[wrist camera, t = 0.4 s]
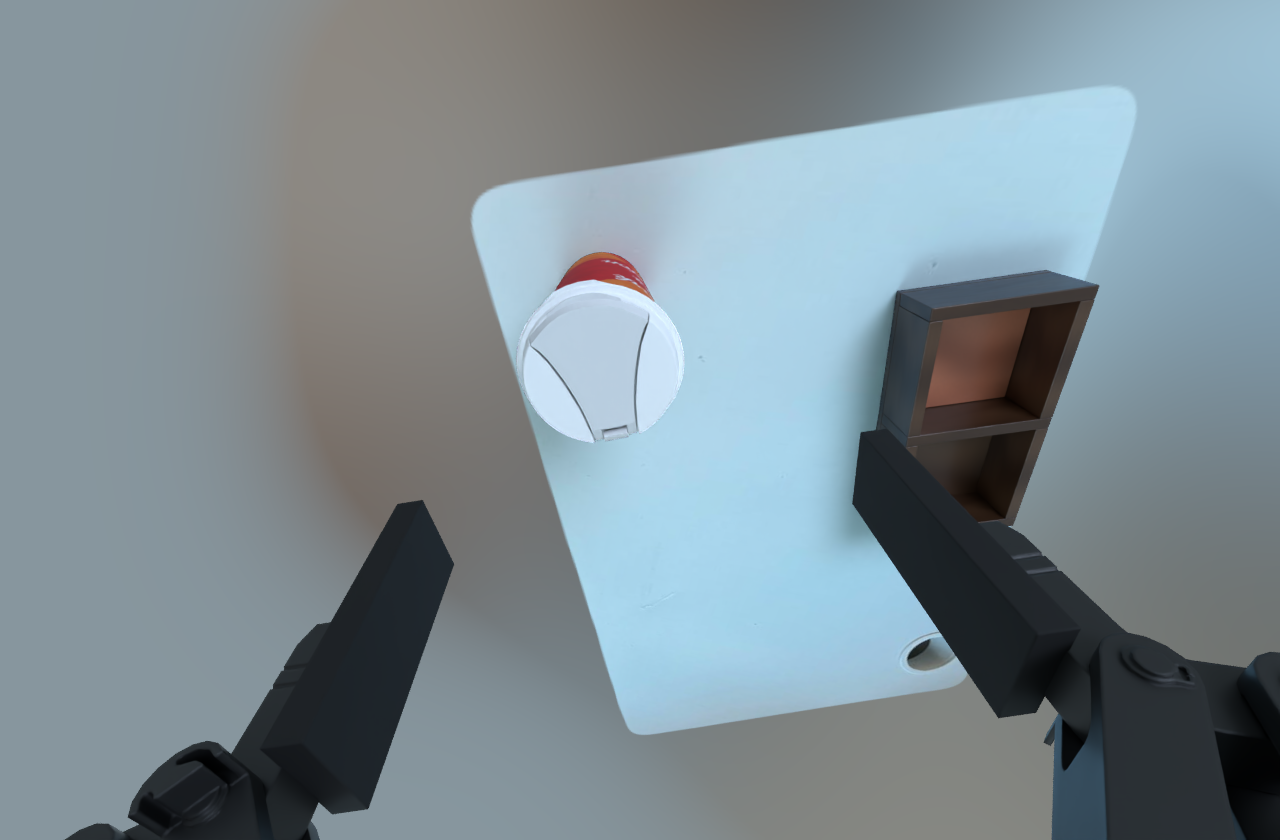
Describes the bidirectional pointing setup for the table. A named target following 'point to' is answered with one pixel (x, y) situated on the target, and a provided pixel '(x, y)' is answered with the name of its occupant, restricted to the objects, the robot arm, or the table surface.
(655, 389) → the coffee cup
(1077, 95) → the table surface
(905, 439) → the cup holder
